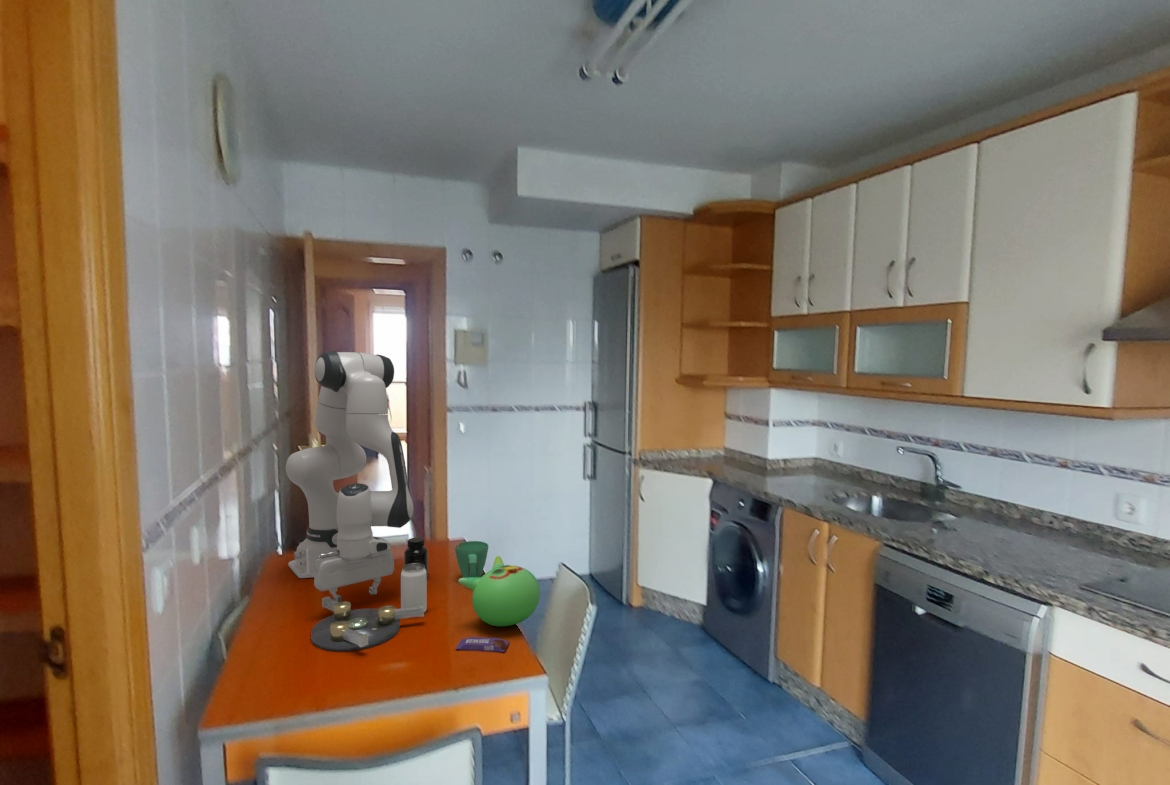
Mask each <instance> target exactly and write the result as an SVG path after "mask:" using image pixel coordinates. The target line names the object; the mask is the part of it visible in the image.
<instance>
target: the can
mask: <svg viewBox="0 0 1170 785" xmlns="http://www.w3.org/2000/svg"><path fill="white" fill-rule="evenodd" d="M427 579H428V577H427V576H426V570H425V565H424V564H420V563H412V564H407V565H405V566H404V565H403V566H402V570H401V573H400V609H401V608H409V607H418V606H420V605H424V613H425V612H426V611H427V608H428V606H427V605H428V604H427V603H428V602H427V601H428V600H427V598H428V597H427V596H428V595H427V592H428V591H427V585H428V584H427V583H428V582H427V581H428V580H427Z"/></svg>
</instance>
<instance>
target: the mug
mask: <svg viewBox="0 0 1170 785" xmlns="http://www.w3.org/2000/svg"><path fill="white" fill-rule="evenodd" d="M454 550H455V557H456V559H457V564H458V567H459V571H460V573H461V576H462V578H467V577H482V574H483V571H484V569H485V568H484V567H485V565H486V562H487V561H486V560H487V558H488V551H489V544H488V543H486V542H484V541H479V540H478V541H477V540H470V541H469V540H468V541H463V542H460V543H459V544H456V545H455V546H454Z"/></svg>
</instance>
